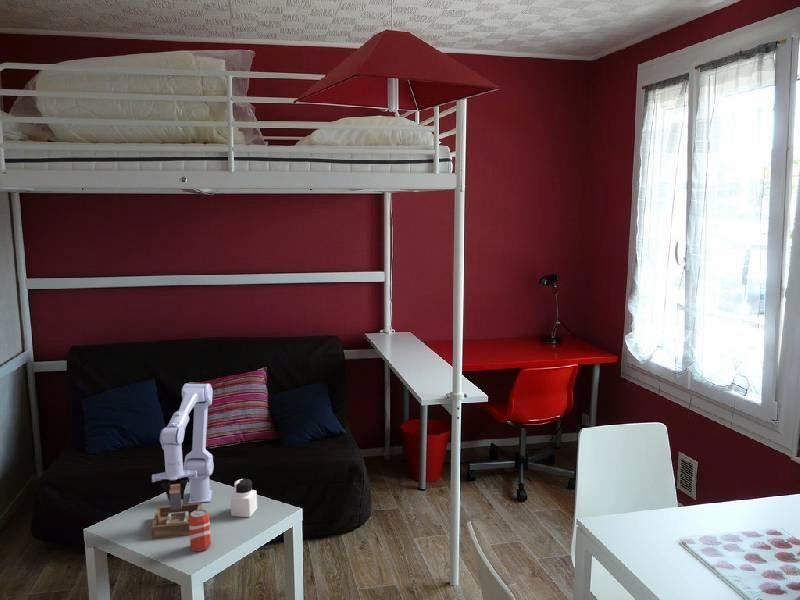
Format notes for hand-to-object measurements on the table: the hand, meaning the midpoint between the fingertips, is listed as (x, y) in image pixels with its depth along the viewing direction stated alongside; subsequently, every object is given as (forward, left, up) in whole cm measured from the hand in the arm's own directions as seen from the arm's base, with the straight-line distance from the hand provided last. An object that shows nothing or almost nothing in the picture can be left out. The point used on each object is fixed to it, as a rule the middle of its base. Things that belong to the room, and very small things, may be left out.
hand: (176, 498), depth 229 cm
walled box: (0, 0, -10) cm, 10 cm away
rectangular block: (0, 0, -3) cm, 3 cm away
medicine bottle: (-5, +22, -10) cm, 25 cm away
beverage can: (+17, +9, -10) cm, 22 cm away
